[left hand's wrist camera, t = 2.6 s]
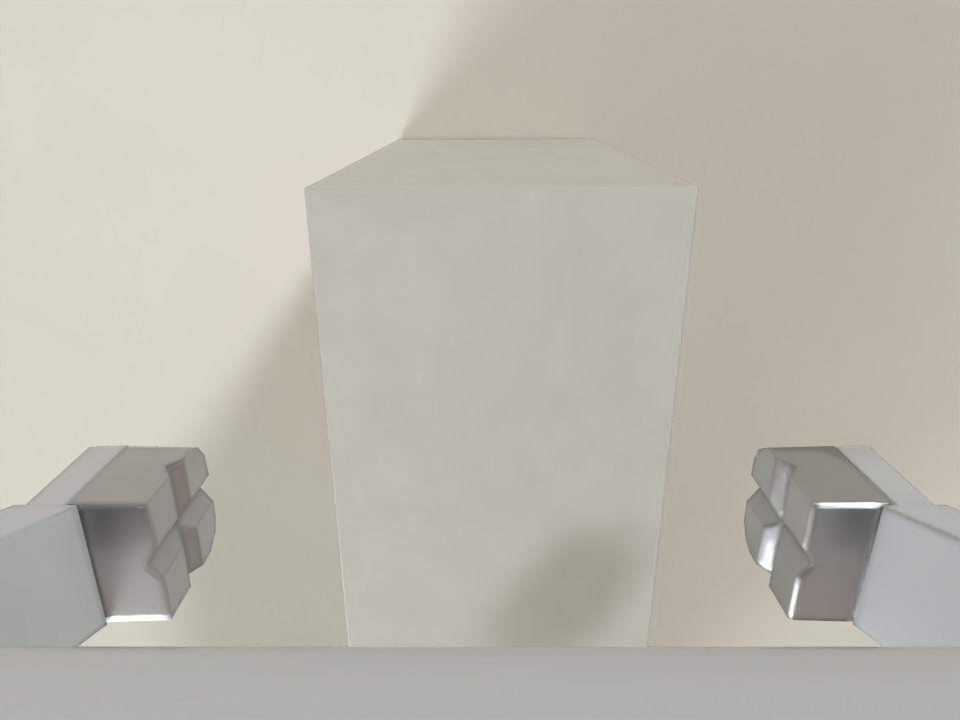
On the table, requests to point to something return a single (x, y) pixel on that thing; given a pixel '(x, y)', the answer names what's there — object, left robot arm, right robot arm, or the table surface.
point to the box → (499, 387)
